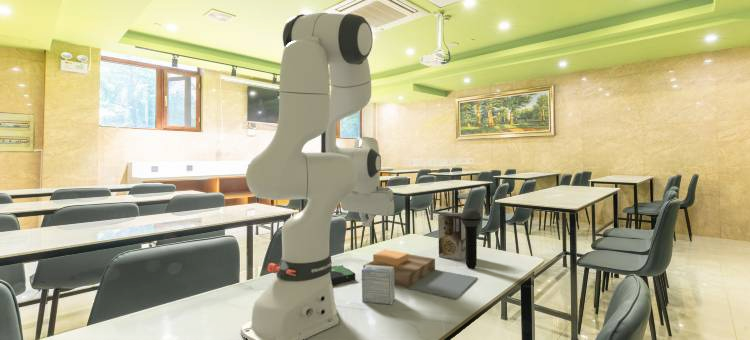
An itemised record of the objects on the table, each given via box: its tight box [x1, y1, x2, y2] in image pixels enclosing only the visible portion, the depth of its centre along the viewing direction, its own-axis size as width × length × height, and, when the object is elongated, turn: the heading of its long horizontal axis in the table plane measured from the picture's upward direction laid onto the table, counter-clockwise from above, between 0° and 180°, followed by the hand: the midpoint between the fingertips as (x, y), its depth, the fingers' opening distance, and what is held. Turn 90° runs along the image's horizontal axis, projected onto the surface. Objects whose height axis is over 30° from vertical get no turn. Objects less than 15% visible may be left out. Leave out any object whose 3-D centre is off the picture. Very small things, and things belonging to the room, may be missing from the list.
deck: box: [362, 253, 436, 290], centre depth 109 cm, size 18×16×4 cm
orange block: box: [372, 249, 409, 265], centre depth 111 cm, size 7×9×2 cm
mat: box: [408, 269, 478, 300], centre depth 101 cm, size 18×14×1 cm
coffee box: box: [437, 211, 466, 261], centre depth 127 cm, size 9×6×16 cm
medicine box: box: [361, 265, 396, 305], centre depth 90 cm, size 8×4×9 cm, turn 74°
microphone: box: [461, 208, 482, 270], centre depth 114 cm, size 7×7×20 cm
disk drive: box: [330, 264, 356, 286], centre depth 105 cm, size 10×3×15 cm
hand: (367, 226), depth 116 cm, fingers closed
